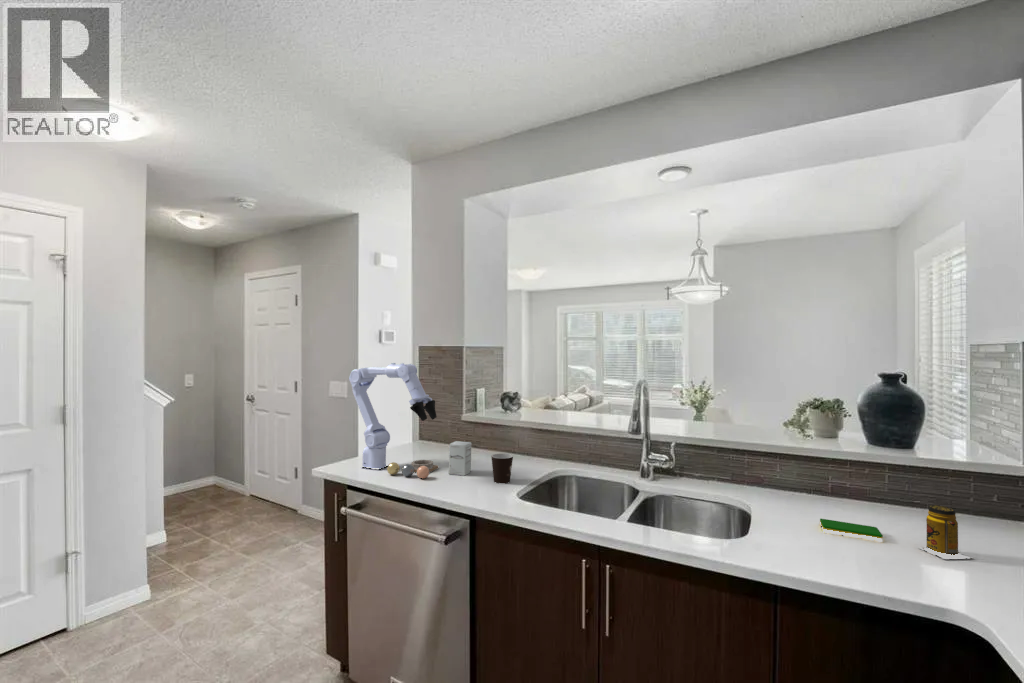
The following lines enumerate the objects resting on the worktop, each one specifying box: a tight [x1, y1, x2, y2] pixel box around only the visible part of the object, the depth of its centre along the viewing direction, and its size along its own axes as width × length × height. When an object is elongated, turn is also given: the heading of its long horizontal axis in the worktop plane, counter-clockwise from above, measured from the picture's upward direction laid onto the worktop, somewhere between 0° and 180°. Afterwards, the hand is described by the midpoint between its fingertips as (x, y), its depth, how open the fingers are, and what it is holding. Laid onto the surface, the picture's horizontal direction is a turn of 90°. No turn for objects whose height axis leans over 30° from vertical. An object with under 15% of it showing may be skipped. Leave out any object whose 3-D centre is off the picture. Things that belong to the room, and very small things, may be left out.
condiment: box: [925, 504, 959, 555], centre depth 119 cm, size 7×8×12 cm
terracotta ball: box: [416, 466, 430, 480], centre depth 182 cm, size 5×5×5 cm
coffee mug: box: [490, 453, 514, 484], centre depth 181 cm, size 12×9×10 cm
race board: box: [410, 459, 439, 473], centre depth 195 cm, size 10×10×3 cm
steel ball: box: [401, 463, 414, 477], centre depth 184 cm, size 5×5×5 cm
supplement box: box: [448, 440, 473, 476], centre depth 191 cm, size 7×7×13 cm
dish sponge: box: [819, 518, 884, 538], centre depth 132 cm, size 7×14×2 cm, turn 62°
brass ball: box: [386, 461, 401, 476], centre depth 187 cm, size 5×5×5 cm
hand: (429, 419), depth 186 cm, fingers open, 7 cm apart
